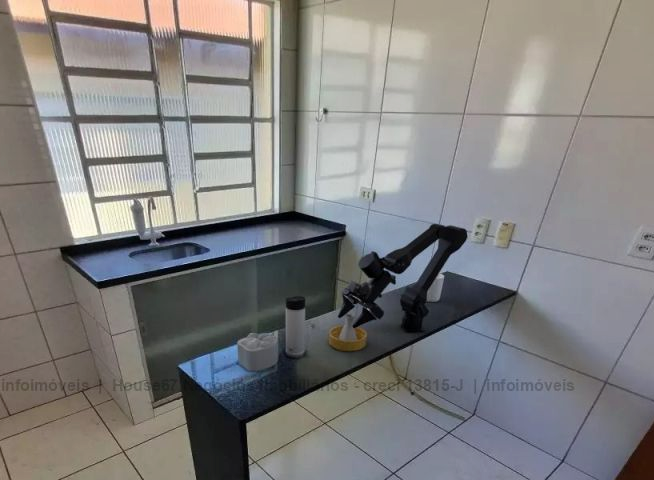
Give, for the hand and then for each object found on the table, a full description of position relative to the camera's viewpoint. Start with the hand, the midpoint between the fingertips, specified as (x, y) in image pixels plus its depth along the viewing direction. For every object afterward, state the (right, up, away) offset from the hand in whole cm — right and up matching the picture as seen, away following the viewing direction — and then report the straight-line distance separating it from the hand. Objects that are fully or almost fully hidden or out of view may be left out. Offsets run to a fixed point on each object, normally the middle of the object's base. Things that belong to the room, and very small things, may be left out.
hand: (345, 322), depth 139 cm
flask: (+1, -6, +5) cm, 8 cm away
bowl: (+1, -7, +5) cm, 8 cm away
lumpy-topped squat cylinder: (-29, -14, -6) cm, 32 cm away
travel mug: (-17, -11, -1) cm, 20 cm away
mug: (+44, +17, +43) cm, 64 cm away
